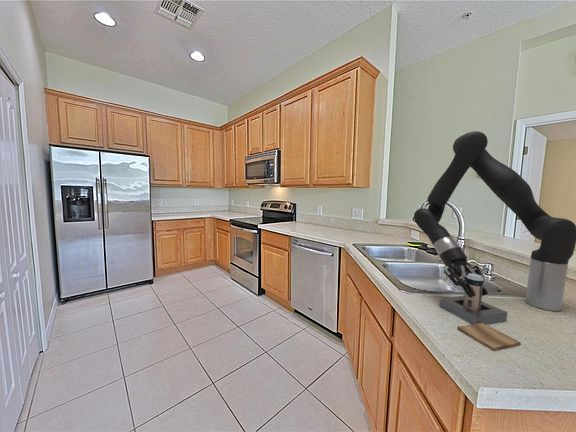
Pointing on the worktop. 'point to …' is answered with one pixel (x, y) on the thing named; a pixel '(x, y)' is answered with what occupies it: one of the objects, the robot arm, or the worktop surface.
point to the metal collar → (485, 315)
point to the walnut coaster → (488, 336)
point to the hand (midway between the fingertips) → (478, 295)
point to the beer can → (477, 287)
